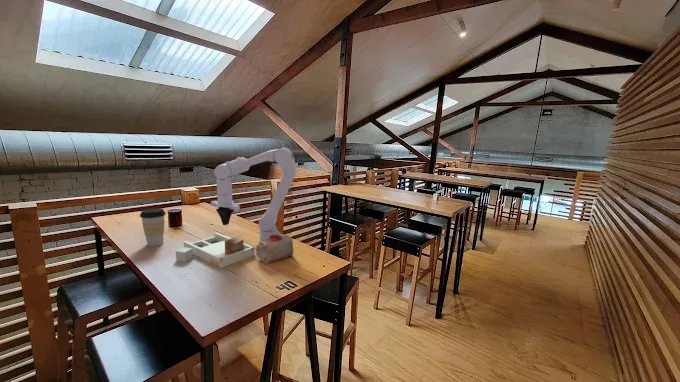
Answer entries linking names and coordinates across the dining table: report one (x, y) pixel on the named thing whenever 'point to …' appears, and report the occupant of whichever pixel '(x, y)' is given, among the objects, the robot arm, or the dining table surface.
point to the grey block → (184, 254)
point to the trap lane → (218, 251)
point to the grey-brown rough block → (274, 248)
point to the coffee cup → (153, 225)
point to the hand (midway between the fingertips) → (225, 224)
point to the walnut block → (233, 245)
